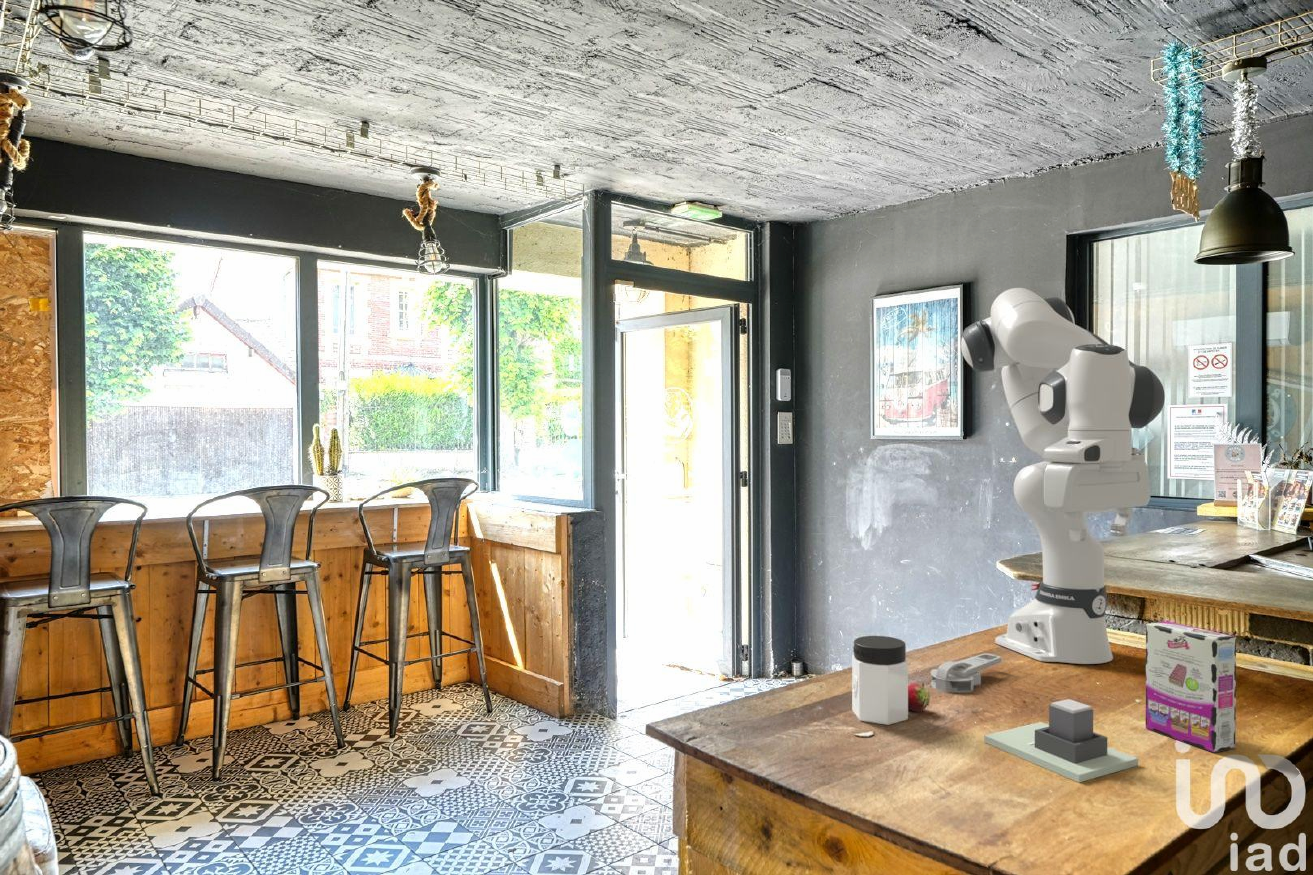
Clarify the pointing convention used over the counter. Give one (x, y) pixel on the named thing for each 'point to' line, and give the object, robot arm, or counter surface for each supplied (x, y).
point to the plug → (1071, 721)
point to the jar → (880, 680)
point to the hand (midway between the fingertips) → (1098, 538)
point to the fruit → (918, 697)
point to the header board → (1062, 752)
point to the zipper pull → (962, 673)
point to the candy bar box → (1191, 685)
